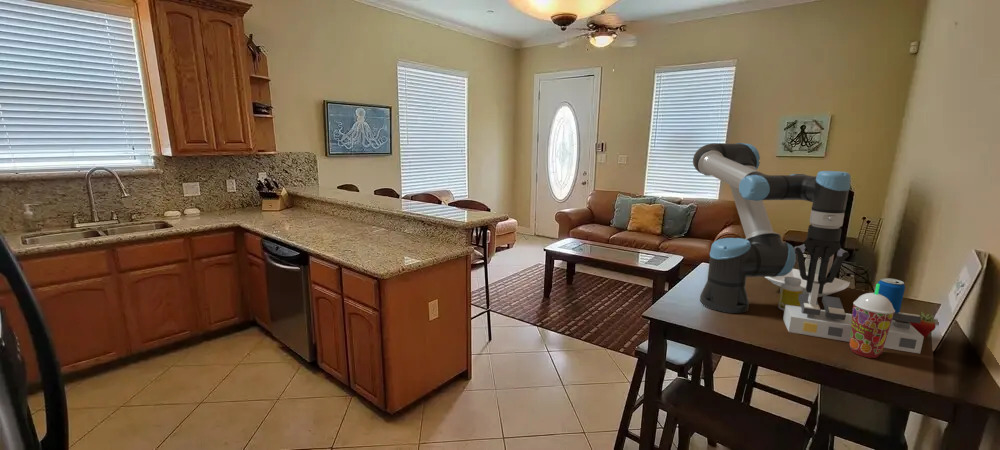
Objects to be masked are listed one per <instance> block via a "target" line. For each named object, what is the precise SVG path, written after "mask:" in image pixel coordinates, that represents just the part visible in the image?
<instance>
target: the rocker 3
mask: <svg viewBox="0 0 1000 450" xmlns="http://www.w3.org/2000/svg"><path fill="white" fill-rule="evenodd" d="M920 316H921V315H920V314H917V315H916V314H914V313H907V312H901V311H900V312H899V313H895V312H894V315H893V318H892V320H898V321H905V322H909V323H910V322H913V323H921V317H920Z"/></svg>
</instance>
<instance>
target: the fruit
mask: <svg viewBox="0 0 1000 450" xmlns="http://www.w3.org/2000/svg"><path fill="white" fill-rule="evenodd" d="M916 315H918V314H916ZM919 315H920V317H921V323H913V322H909V323H910V324H911V325H912V326H913V327H914V328H915V329H916V330H917V331H918V332H919V333H920V334H921V335H923V336H924V339H925V338H927V337H928V335H930V334H931V333H932V332H933V331H934V330H935V329H936V326H937V325H936V323H935V322H937V319H934V318H933V317H934V315H933V314H932V315H930V313H927V314H926V315H925V313H924V312H923V310H922V311H920V314H919Z"/></svg>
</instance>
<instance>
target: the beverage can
mask: <svg viewBox="0 0 1000 450" xmlns="http://www.w3.org/2000/svg"><path fill="white" fill-rule="evenodd" d="M877 284H880V286H879V291H878V294H881V295H883V296H885V297H886V298H888V300H889V301H890V302H891V303H892V306H893V308H894V310H895V313H899V312H901V308H902V307H901V306H902V304H903V298H904V293H905V289H906V286H905V282H904V281H902V280H900V279H896V278H890V277H889V278H888V277H882V278H880V280H879V281H878V283H877Z"/></svg>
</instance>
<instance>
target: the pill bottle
mask: <svg viewBox="0 0 1000 450" xmlns="http://www.w3.org/2000/svg"><path fill="white" fill-rule="evenodd" d="M784 282H785V283H783V284H782V285H781V287H780V288H779V289H780V290H779V295H778V296H779V298H778V304H777V307H778V309H780V310H781V311H783V312H784V310H785V305H791V306H798V307H801V305H800V302H799V299H798V297H799V294H802V292H803V288H802V287H801V286H800V285H801V279H799V278H795V277H785V279H784Z"/></svg>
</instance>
